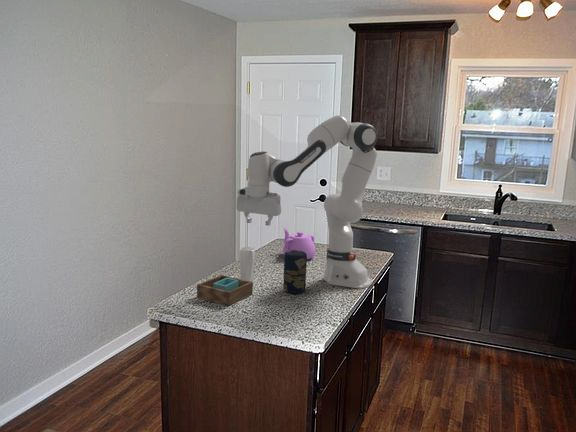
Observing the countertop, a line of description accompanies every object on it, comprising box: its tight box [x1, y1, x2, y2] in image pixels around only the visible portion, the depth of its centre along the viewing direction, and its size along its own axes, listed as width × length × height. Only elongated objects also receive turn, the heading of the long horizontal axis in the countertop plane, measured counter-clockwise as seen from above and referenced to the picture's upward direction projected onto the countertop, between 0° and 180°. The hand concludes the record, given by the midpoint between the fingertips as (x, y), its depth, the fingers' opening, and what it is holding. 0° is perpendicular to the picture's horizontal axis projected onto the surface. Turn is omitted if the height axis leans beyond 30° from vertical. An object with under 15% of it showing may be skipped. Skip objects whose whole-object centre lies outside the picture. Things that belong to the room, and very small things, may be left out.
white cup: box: [238, 246, 256, 282], centre depth 222 cm, size 7×7×15 cm
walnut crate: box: [196, 274, 254, 307], centre depth 203 cm, size 16×16×6 cm
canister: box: [282, 250, 308, 294], centre depth 211 cm, size 10×10×18 cm
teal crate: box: [213, 278, 239, 291], centre depth 203 cm, size 6×9×5 cm, turn 151°
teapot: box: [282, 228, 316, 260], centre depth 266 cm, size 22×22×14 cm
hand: (258, 223), depth 209 cm, fingers open, 8 cm apart
